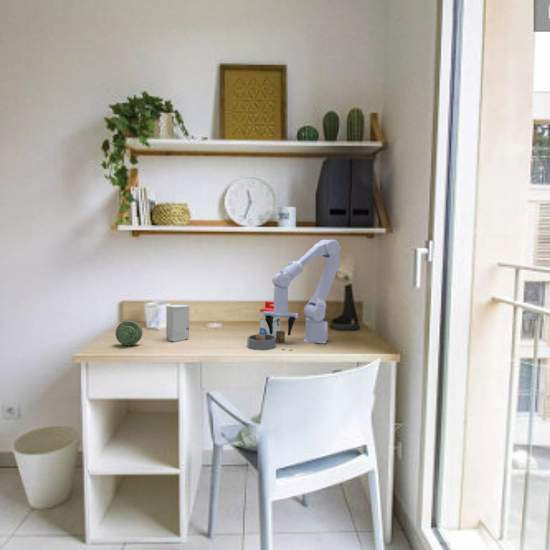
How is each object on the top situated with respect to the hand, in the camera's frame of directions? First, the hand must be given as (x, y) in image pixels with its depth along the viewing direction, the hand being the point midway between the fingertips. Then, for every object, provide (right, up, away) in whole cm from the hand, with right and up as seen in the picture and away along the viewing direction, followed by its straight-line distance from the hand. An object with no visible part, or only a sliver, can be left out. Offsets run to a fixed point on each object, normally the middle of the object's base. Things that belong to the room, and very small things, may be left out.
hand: (280, 334), depth 173 cm
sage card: (+3, -5, -11) cm, 13 cm away
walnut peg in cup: (-8, -4, -8) cm, 12 cm away
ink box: (-4, -3, +17) cm, 18 cm away
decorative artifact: (-61, -4, -7) cm, 62 cm away
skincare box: (-44, -3, +5) cm, 44 cm away
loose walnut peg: (0, -4, 0) cm, 4 cm away
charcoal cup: (-8, -4, -6) cm, 11 cm away
